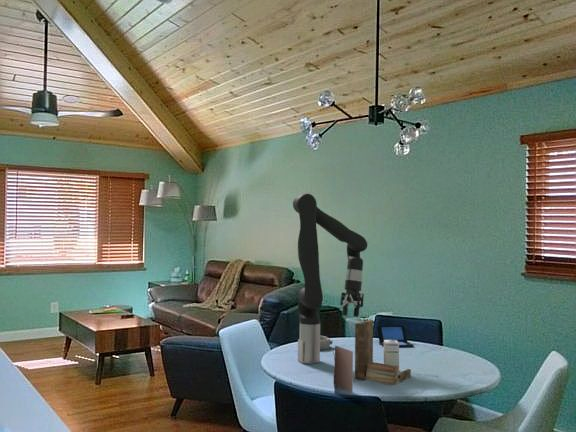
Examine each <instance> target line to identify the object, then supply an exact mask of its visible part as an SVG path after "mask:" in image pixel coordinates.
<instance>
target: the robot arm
mask: <svg viewBox="0 0 576 432" xmlns="http://www.w3.org/2000/svg"><path fill="white" fill-rule="evenodd" d="M317 204H318V203H317V199H316V198H315V197H314V195H312V194H311V193H302V194H298V195H297V196H295V197H294V199H293V201H292V206H293V207H292V208H293V209H294V211H295V212H296V213H298V215H299V227H300V228H299V234H298V238H297V256H298V257H297V258H298V262H299V265H300V268H301V271H302V275H303V279H304V287H303V288H301V289H300V291H299V293H298V297H297V314H298V319H299V339H298V338H297V361H298V362H300V363H301V364H311V365H313V364H318V363H320V362H321V351H320V336H321V317H320V315H319V310H318V308H320V307H321V306H322V304H323V300H324V296H323V294H324V293H323V289H322V283H321V276H320V275H321V273H320V257H319V256H320V254H319V253H320V252H319V239H318V230H317V225H318V226H320V227H321V228H322V229H324V230H325V231H326V232H327V233H329V235H331V236H332V237H334V238H336V239H337V240H338V241H339V242H342V243H346V255H347V265H346V266H347V267H346V273H345V280H344V281H345V282H344V290H345V292H341V294H340V302H339V305H340V306H342V311H341V312H342V316H343V317H344V316H345V317H347V316H348V310H349V308H348V307H349V305H351V304H353V306H354V308H353V317H355V318H359V315H360V309H361V308H363V307H364V297H365V296H364V293H361V291H362V284H363V270H364V269H363V267H364V260H363V259H362V258H361V252H364V251H366V250H367V248H368V241H367V240H366V238H365V237H364V236H363V235H361V234H359V233H358V232H355V231H354V230H351V229H349V228H348V227H347V226H346V225H345V224H344V223H342V222H341V221H339V220H338V219H337V218H334V217H332V216H330V214H328V213H325V212H324V211H323V210H321V209H320V208H319V207H318V205H317Z"/></svg>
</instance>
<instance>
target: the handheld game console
mask: <svg viewBox="0 0 576 432" xmlns="http://www.w3.org/2000/svg"><path fill="white" fill-rule="evenodd" d="M376 330H377V336H378V342H379V343H378V344H379V345H380V346H382V347H384V340H397V341H398V343H399V349H400V348H403V349H405V348H414V346H415V345H414V344H412V343H411V342H409V341H408V340H407V339H408V338H407V335H406V334H407V333H406V329H405V326H404V325H402V324H401V325H400V324H398V325H397V324H395V325H391V324H390V325H389V324H388V325H382V324H380V325H377V327H376Z"/></svg>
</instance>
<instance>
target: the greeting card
mask: <svg viewBox="0 0 576 432" xmlns="http://www.w3.org/2000/svg"><path fill="white" fill-rule="evenodd" d="M332 352H333V357H334V367H333V387H334V389H336V387H338V388H341V389H344V390H346V391H347V392H350V393H353V383H354V382H353V380H354V379H353V378H354V376H353V375H354V374H353V372H354V369H353V368H354V366H353V365H354V359H353V358H354V351H353V350H350V349H346V348H344V347H341V346H338V345H335V346H334V350H332ZM333 392H334V394H336V393H335V391H333Z"/></svg>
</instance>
